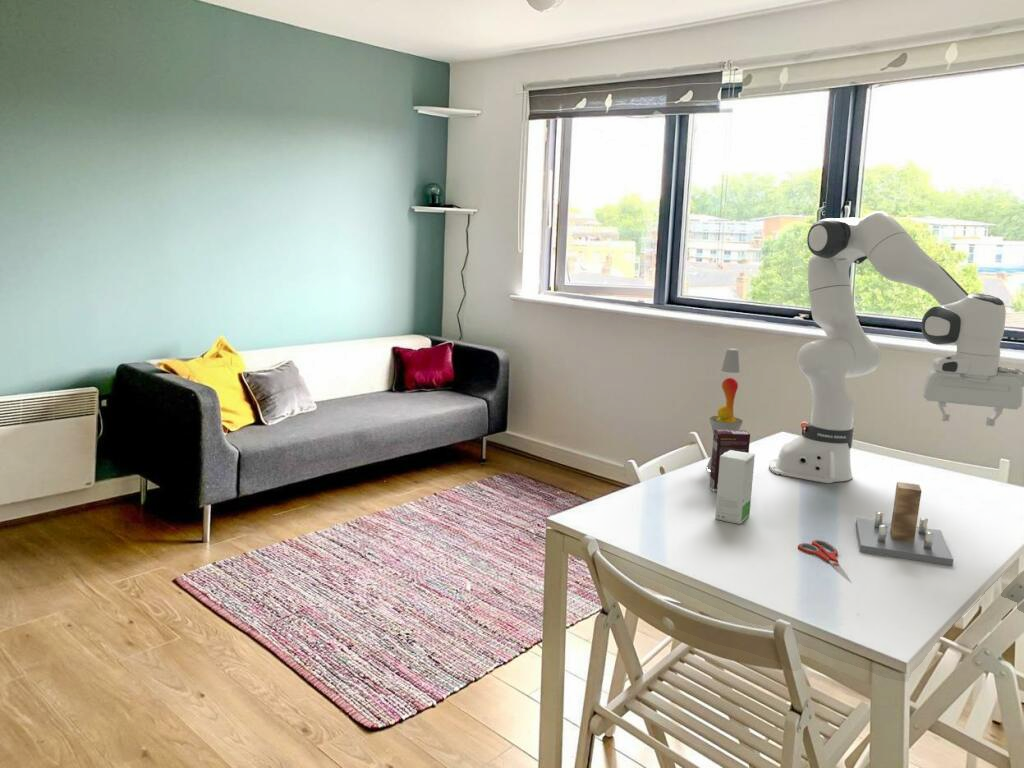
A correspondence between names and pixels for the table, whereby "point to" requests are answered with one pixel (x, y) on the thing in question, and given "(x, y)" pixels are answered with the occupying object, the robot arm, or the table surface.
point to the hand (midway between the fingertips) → (967, 423)
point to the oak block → (905, 512)
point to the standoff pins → (921, 531)
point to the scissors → (824, 554)
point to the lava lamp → (727, 397)
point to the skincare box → (734, 486)
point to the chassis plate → (902, 544)
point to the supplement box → (726, 449)
